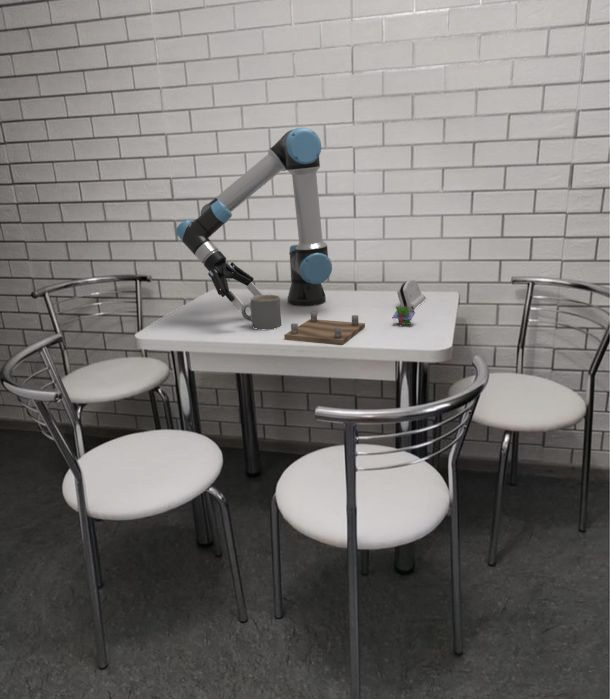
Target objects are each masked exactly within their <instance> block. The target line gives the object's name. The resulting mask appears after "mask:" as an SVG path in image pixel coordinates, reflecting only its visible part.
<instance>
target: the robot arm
mask: <svg viewBox="0 0 610 699" xmlns="http://www.w3.org/2000/svg"><path fill="white" fill-rule="evenodd" d="M321 152H322V141H321V138H320V137H319V135H318V134H317V133H316V132H315V131H314V130H312V129H311V128H308V127H297V128H294V129H291V130H289V131H287V132H285V133H284V134H283V136H282V137H280V139H279V140H278V141H277V142H276V143H275V144H274V145H272V147H270V148H268V153H267V154H266V155H265V156H264V157H263V158H262V159H260V160H259V161H258V162H256V164H254V165H253V166H252V167H250V168H249V169H248V170H247V171H246V172H244V174H242V175H241V176H240V177H238V178H237V179H236V180H235V181H234V182H233V183H231V184H230V185H229V186H228V187H226V188H225V189H224V190H223V191H221V193H219V194H218V195H217V196H216V197H215V198H213V199H211V201H210V202H208V203H206V204H204V205H203V206H202V207H201V210H200V216H198V217H197V218H196V219H195V220H193V219H192V218H186V219H185V220H183V221H181V222H180V223H179V224H178V226H177V228H176V229H175V232H176V236H177V237H178V238H179V239H180V240H181V242H182V243H183V244H184V245H185V246H186V247H187V248H188V250H190V252H191V253H192V254H193V255H194V256H195V257H196V258H197V259H198V261H199V262H201V264H203V267H204V268H206V270H207V271H208V273H207V275H208V276H209V278H210V279H211V281H212V283H213V286H214V288H215V290H216V292H217V294H218V296H221V297H222V298H224V297H226V298H227V299H228V301H229V302H230V303H232V305H233V306H234V307H235V308H236V309H237V311H238V310H240V309H242V306H243V305H244V304H245V303H243V301H241V299H240V298H239V297H238V296H237V294H235V292H234V291H233V290H232V289H230V287H229V283H228V280H227V279H230V280H235V281H237V282H238V283H241V284H243V285H245V286H246V288H247V290H248V291H249V292H250V293H251V294H252V295H253V297H254V296H258V295H264V294H263V293H262V291H260V289H259V288H258V287H257V286H256V285H255V284H254V277H253V276H251V275H250V274H249V273H247V272H246V271H244V270H243V269H242V268H241V267H238V266H237V264H235V263H234V262H230V264H229V263H227V257H226V256H225V255H224V254H223V253H222V252H221V251H220V250H219V248H218V247H217V246H216V245H215V243H213V242H212V240H210V238H211V236H213V234H214V233H216V232H217V231H218V230H219V229H220V228H221V227H222V226H224V225H225V224H226V223H227V222H228V221H229V220H230V219H231V218H232V216H233V213H232V212H233V211H234V210H235V209H236V208H238V207H239V206H240V205H241V204H243V203H244V202H245V201H246V200H248V199H249V198H250V197H251V196H252V195H254V194H255V193H256V192H258V190H259V189H261V188H262V187H263V186H264V185H266V184H267V183H268V182H270V181H271V180H272V179H273V178H275V177H276V176H277V175H278V174H279V173H280V172H286V171H287V172H288V173H289V174H290V175H291V178H292V188H293V195H294V197H293V198H294V207H295V208H294V209H295V215H296V226H297V235H298V244H292V245H290V246H289V251H288V252H289V264H290V265H289V267H290V268H289V269H290V287H289V291H288V295H287V304H288V305H291V306H296V307H311V306H319V305H322V304H324V303H326V301H327V299H326V298H327V297H326V294H325V290H324V287H323V285H322V283H324V282H327V280H328V279H329V278H330V277H331V274H332V271H333V264H332V260H331V258H330V257H329V253H328V252H329V251H328V244H327V243H326V242H325V241H324V240H323V232H322V222H321V210H320V199H319V189H318V179H317V178H318V177H317V172H318V171H319V169H320V168H321V162H320V154H321Z"/></svg>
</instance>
